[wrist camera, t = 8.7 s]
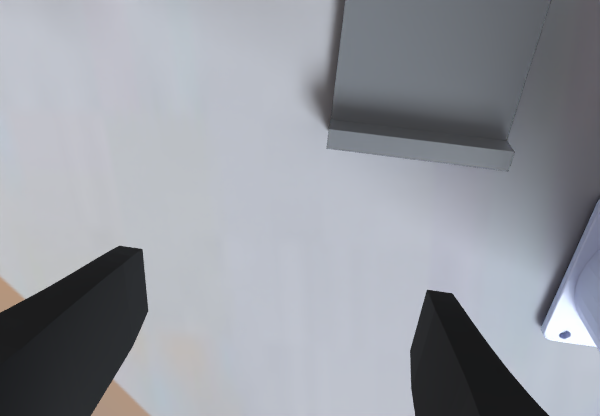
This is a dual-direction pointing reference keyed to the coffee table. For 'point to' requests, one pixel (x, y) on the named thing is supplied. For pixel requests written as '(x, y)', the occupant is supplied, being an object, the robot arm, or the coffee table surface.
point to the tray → (433, 78)
